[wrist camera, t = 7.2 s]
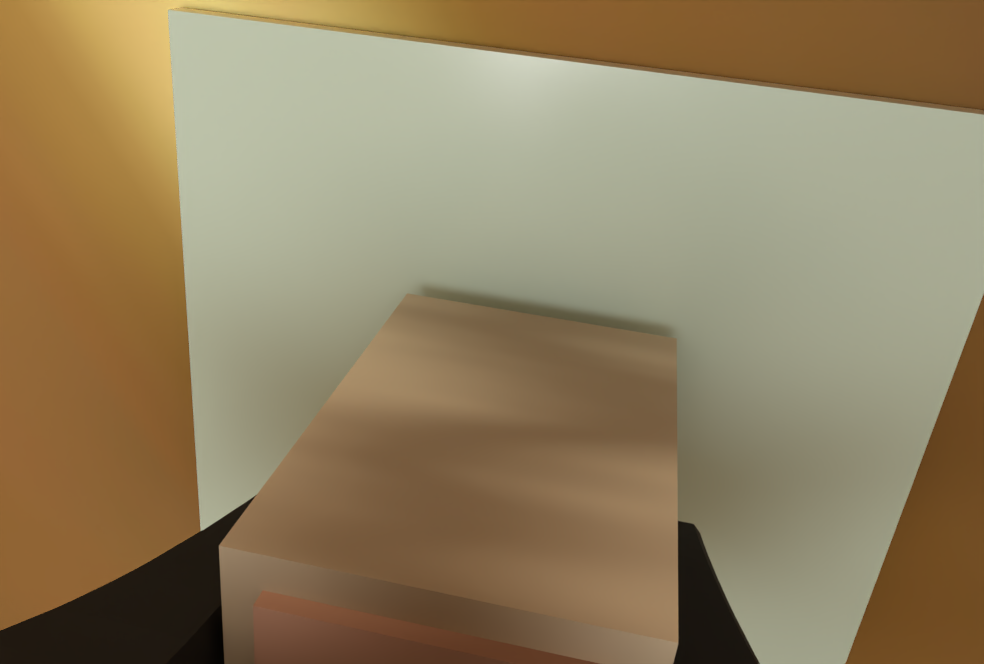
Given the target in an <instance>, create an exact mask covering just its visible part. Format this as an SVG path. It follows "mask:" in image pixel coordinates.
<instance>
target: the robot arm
mask: <svg viewBox="0 0 984 664" xmlns="http://www.w3.org/2000/svg"><path fill="white" fill-rule="evenodd" d="M255 496H256V495H255ZM255 496H254V497H253V498H251V499H250V500H248V501H247V502H245V503H244V504H242V505H241V506H239V507H238V508H236V509H234V510H233V511H231V512H230V513H228V514H227V515H225V516H224V517H222V518H221V519H219V520H218V521H216V522H215V523H213V524H212V525H210V526H209V527H207V528H205V529H204V530H202V531H200V532H199V533H197V534H195V535H194V536H192V537H190V538H189V539H187V540H185V541H184V542H182V543H180V544H178V545H177V546H175V547H173V548H172V549H170V550H168V551H167V552H165V553H163V554H162V555H160V556H158V557H157V558H155V559H153V560H151V561H150V562H148V563H146V564H144V565H142V566H141V567H139V568H137V569H135V570H133V571H131V572H129V573H128V574H126V575H124V576H122V577H120V578H118V579H116V580H114V581H112V582H110V583H108V584H106V585H104V586H102V587H100V588H98V589H96V590H93V591H91V592H89V593H87V594H85V595H83V596H81V597H79V598H77V599H75V600H73V601H71V602H68V603H66V604H64V605H62V606H59V607H57V608H55V609H52V610H50V611H48V612H45V613H43V614H40V615H38V616H35V617H33V618H30V619H28V620H26V621H23V622H21V623H18V624H16V625H13V626H11V627H8V628H6V629H3V630H1V631H0V664H224V644H223V623H222V602H221V582H220V561H219V545H220V543H221V542H222V541H223V539H224V538H225V537H226V535H227V534H228V533H229V531H230V530H231V529H232V527H233V526H234V525H235V523H236V522H237V521H238V519H239V518H240V517H241V515H242V514H243V513H244V511H245V510H246V509H247V507H248V506H249V504H250V503H251V502H252V500H253V499H254V498H255ZM673 664H760V663H759V661H758V659H757V657H756V656H755V654H754V652H753V650H752V648H751V646H750V644H749V642H748V640H747V638H746V636H745V634H744V632H743V630H742V628H741V627H740V625H739V623H738V621H737V619H736V617H735V615H734V613H733V611H732V608H731V606H730V604H729V602H728V600H727V598H726V596H725V593H724V591H723V589H722V587H721V584H720V582H719V580H718V578H717V575H716V573H715V571H714V568H713V566H712V563H711V561H710V558H709V556H708V553H707V551H706V548H705V545H704V543H703V540H702V537H701V534H700V532H699V531H698V529H697V528H696V526H695V525H694V524H692V523H687V522H682V521H678V647H677V651H676V655H675V659H674V663H673Z"/></svg>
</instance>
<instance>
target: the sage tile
mask: <svg viewBox="0 0 984 664" xmlns="http://www.w3.org/2000/svg"><path fill="white" fill-rule="evenodd" d="M168 19H169V35H170V51H171V67H172V83H173V99H174V115H175V131H176V146H177V162H178V178H179V194H180V210H181V226H182V242H183V258H184V274H185V289H186V305H187V321H188V337H189V353H190V369H191V385H192V401H193V417H194V432H195V448H196V464H197V480H198V496H199V512H200V528H201V531H202V530H204V529H205V528H207V527H209V526H210V525H212V524H213V523H215V522H216V521H218V520H219V519H221V518H222V517H224V516H225V515H227V514H228V513H230V512H231V511H233V510H234V509H236V508H238V507H239V506H241V505H242V504H244V503H245V502H247V501H248V500H250V499H251V498H253V497H254V496H255V495H257V494H258V492H259V491H260V490H261V488H262V487H263V486H264V484H265V483H266V482H267V480H268V479H269V478H270V476H271V475H272V474H273V472H274V471H275V470H276V468H277V467H278V466H279V464H280V463H281V462H282V460H283V459H284V458H285V456H286V455H287V454H288V452H289V451H290V450H291V448H292V447H293V446H294V444H295V443H296V442H297V440H298V439H299V438H300V436H301V435H302V433H303V432H304V431H305V429H306V428H307V427H308V425H309V424H310V423H311V421H312V420H313V419H314V417H315V416H316V415H317V413H318V412H319V411H320V409H321V408H322V407H323V405H324V404H325V403H326V401H327V400H328V399H329V397H330V396H331V395H332V393H333V392H334V391H335V389H336V388H337V387H338V385H339V384H340V383H341V381H342V380H343V379H344V377H345V376H346V375H347V373H348V372H349V371H350V369H351V368H352V367H353V365H354V364H355V362H356V361H357V360H358V358H359V357H360V356H361V354H362V353H363V352H364V350H365V349H366V348H367V346H368V345H369V344H370V342H371V341H372V340H373V338H374V337H375V336H376V334H377V333H378V332H379V330H380V329H381V328H382V326H383V325H384V324H385V322H386V321H387V320H388V318H389V317H390V316H391V314H392V313H393V312H394V310H395V309H396V308H397V306H398V305H399V304H400V302H401V301H402V300H403V298H404V297H405V296H406V294H407V293H408V294H414V295H420V296H426V297H432V298H438V299H444V300H450V301H456V302H462V303H468V304H474V305H479V306H485V307H491V308H497V309H503V310H509V311H515V312H521V313H527V314H533V315H539V316H545V317H551V318H557V319H563V320H569V321H575V322H581V323H587V324H593V325H599V326H605V327H611V328H617V329H623V330H629V331H635V332H641V333H647V334H653V335H659V336H665V337H671V338H677V479H678V521H682V522H687V523H692V524H694V525H695V526H696V528H697V529H698V531H699V532H700V534H701V537H702V540H703V543H704V545H705V548H706V551H707V553H708V556H709V558H710V561H711V563H712V566H713V568H714V571H715V573H716V575H717V578H718V580H719V582H720V584H721V587H722V589H723V591H724V593H725V596H726V598H727V600H728V602H729V604H730V606H731V608H732V611H733V613H734V615H735V617H736V619H737V621H738V623H739V625H740V627H741V628H742V630H743V632H744V634H745V636H746V638H747V640H748V642H749V644H750V646H751V648H752V650H753V652H754V654H755V656H756V657H757V659H758V661H759V663H760V664H845V663H846V660H847V658H848V655H849V652H850V650H851V647H852V644H853V642H854V639H855V636H856V634H857V631H858V628H859V625H860V623H861V620H862V617H863V615H864V612H865V609H866V607H867V604H868V601H869V599H870V596H871V593H872V591H873V588H874V585H875V583H876V580H877V577H878V575H879V572H880V569H881V567H882V564H883V561H884V559H885V556H886V553H887V551H888V548H889V545H890V543H891V540H892V537H893V535H894V532H895V529H896V527H897V524H898V521H899V519H900V516H901V513H902V511H903V508H904V505H905V503H906V500H907V497H908V495H909V492H910V489H911V486H912V484H913V481H914V478H915V476H916V473H917V470H918V468H919V465H920V462H921V460H922V457H923V454H924V452H925V449H926V446H927V444H928V441H929V438H930V436H931V433H932V430H933V428H934V425H935V422H936V420H937V417H938V414H939V412H940V409H941V406H942V404H943V401H944V398H945V396H946V393H947V390H948V388H949V385H950V382H951V380H952V377H953V374H954V372H955V369H956V366H957V364H958V361H959V358H960V356H961V353H962V350H963V347H964V345H965V342H966V339H967V337H968V334H969V331H970V329H971V326H972V323H973V321H974V318H975V315H976V313H977V310H978V307H979V305H980V302H981V299H982V297H983V294H984V110H979V109H971V108H964V107H956V106H948V105H940V104H932V103H925V102H917V101H909V100H901V99H893V98H885V97H878V96H870V95H862V94H854V93H846V92H839V91H831V90H823V89H815V88H807V87H800V86H792V85H784V84H776V83H768V82H760V81H753V80H745V79H737V78H729V77H721V76H714V75H706V74H698V73H690V72H682V71H675V70H667V69H659V68H651V67H643V66H636V65H628V64H620V63H612V62H604V61H596V60H589V59H581V58H573V57H565V56H557V55H550V54H542V53H534V52H526V51H518V50H511V49H503V48H495V47H487V46H479V45H471V44H464V43H456V42H448V41H440V40H432V39H425V38H417V37H409V36H401V35H393V34H386V33H378V32H370V31H362V30H354V29H347V28H339V27H331V26H323V25H315V24H307V23H300V22H292V21H284V20H276V19H268V18H261V17H253V16H245V15H237V14H229V13H222V12H214V11H206V10H198V9H190V8H182V7H181V8H175V9H169V10H168Z"/></svg>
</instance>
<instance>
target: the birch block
mask: <svg viewBox="0 0 984 664" xmlns="http://www.w3.org/2000/svg"><path fill="white" fill-rule="evenodd" d="M219 561H220V582H221V602H222V623H223V644H224V664H673V663H674V659H675V655H676V651H677V647H678V479H677V338H671V337H665V336H659V335H653V334H647V333H641V332H635V331H629V330H623V329H617V328H611V327H605V326H599V325H593V324H587V323H581V322H575V321H569V320H563V319H557V318H551V317H545V316H539V315H533V314H527V313H521V312H515V311H509V310H503V309H497V308H491V307H485V306H479V305H474V304H468V303H462V302H456V301H450V300H444V299H438V298H432V297H426V296H420V295H414V294H408V293H407V294H406V296H405V297H404V298H403V300H402V301H401V302H400V304H399V305H398V306H397V308H396V309H395V310H394V312H393V313H392V314H391V316H390V317H389V318H388V320H387V321H386V322H385V324H384V325H383V326H382V328H381V329H380V330H379V332H378V333H377V334H376V336H375V337H374V338H373V340H372V341H371V342H370V344H369V345H368V346H367V348H366V349H365V350H364V352H363V353H362V354H361V356H360V357H359V358H358V360H357V361H356V362H355V364H354V365H353V367H352V368H351V369H350V371H349V372H348V373H347V375H346V376H345V377H344V379H343V380H342V381H341V383H340V384H339V385H338V387H337V388H336V389H335V391H334V392H333V393H332V395H331V396H330V397H329V399H328V400H327V401H326V403H325V404H324V405H323V407H322V408H321V409H320V411H319V412H318V413H317V415H316V416H315V417H314V419H313V420H312V421H311V423H310V424H309V425H308V427H307V428H306V429H305V431H304V432H303V433H302V435H301V436H300V438H299V439H298V440H297V442H296V443H295V444H294V446H293V447H292V448H291V450H290V451H289V452H288V454H287V455H286V456H285V458H284V459H283V460H282V462H281V463H280V464H279V466H278V467H277V468H276V470H275V471H274V472H273V474H272V475H271V476H270V478H269V479H268V480H267V482H266V483H265V484H264V486H263V487H262V488H261V490H260V491H259V492H258V494H257V495H256V496H255V498H254V499H253V500H252V502H251V503H250V504H249V506H248V507H247V509H246V510H245V511H244V513H243V514H242V515H241V517H240V518H239V519H238V521H237V522H236V523H235V525H234V526H233V527H232V529H231V530H230V531H229V533H228V534H227V535H226V537H225V538H224V539H223V541H222V542H221V543H220V545H219Z"/></svg>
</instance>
